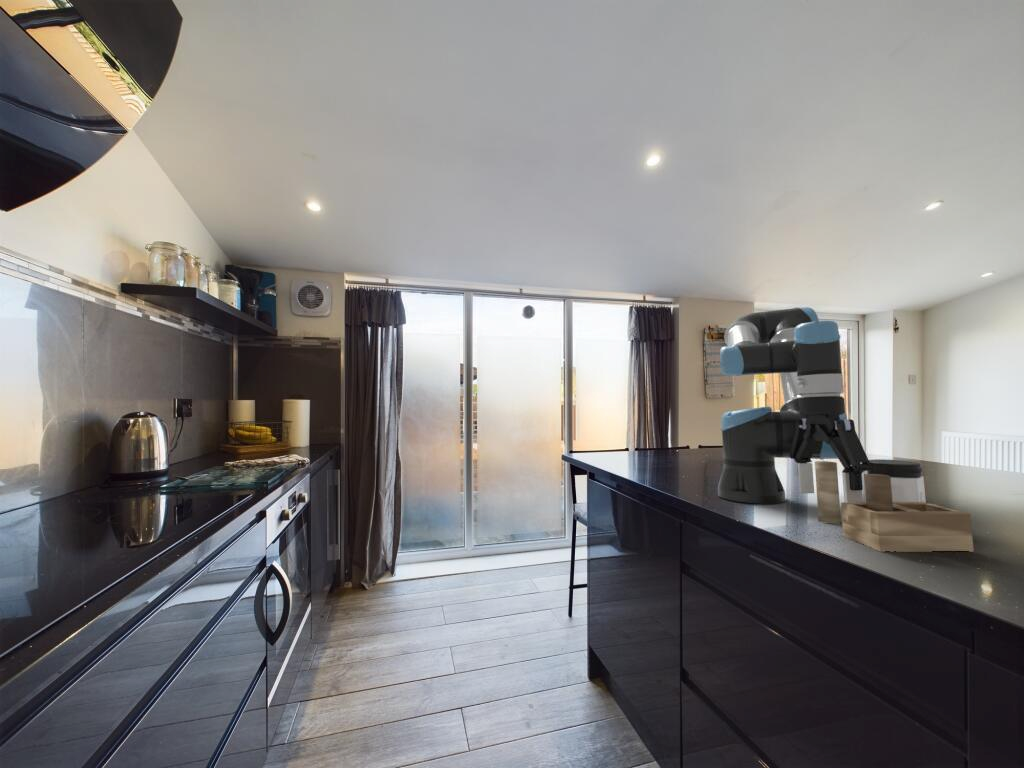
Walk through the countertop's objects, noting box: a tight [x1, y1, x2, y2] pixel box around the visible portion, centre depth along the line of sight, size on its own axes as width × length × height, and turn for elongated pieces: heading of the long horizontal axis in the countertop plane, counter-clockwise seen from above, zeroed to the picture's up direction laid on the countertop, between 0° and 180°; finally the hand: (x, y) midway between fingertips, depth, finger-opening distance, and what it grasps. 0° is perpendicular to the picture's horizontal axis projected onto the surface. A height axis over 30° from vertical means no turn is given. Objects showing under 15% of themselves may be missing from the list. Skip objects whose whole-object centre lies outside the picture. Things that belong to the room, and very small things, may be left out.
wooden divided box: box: [840, 501, 975, 553], centre depth 69 cm, size 8×14×6 cm, turn 86°
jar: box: [866, 458, 927, 503], centre depth 81 cm, size 9×8×12 cm
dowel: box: [814, 460, 842, 525], centre depth 83 cm, size 4×4×12 cm
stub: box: [863, 473, 893, 512], centre depth 69 cm, size 3×3×9 cm
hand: (828, 499), depth 83 cm, fingers open, 13 cm apart
